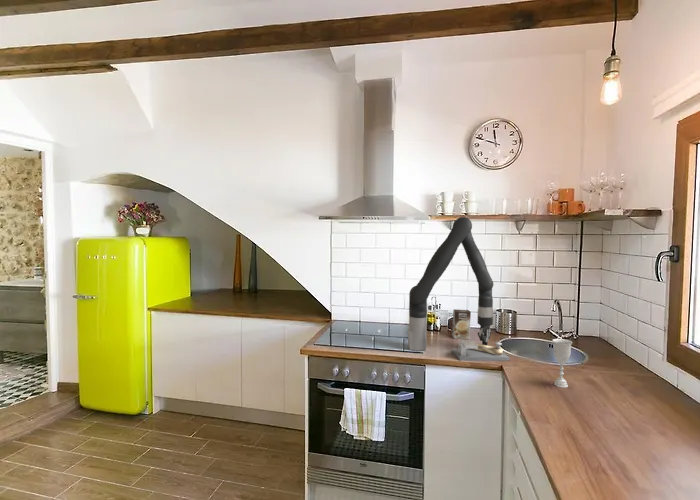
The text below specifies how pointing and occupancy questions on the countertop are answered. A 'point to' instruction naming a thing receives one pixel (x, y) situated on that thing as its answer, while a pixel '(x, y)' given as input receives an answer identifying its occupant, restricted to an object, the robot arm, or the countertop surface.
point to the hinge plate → (481, 355)
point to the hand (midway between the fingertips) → (484, 348)
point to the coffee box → (461, 324)
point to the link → (489, 349)
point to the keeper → (466, 346)
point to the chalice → (561, 358)
